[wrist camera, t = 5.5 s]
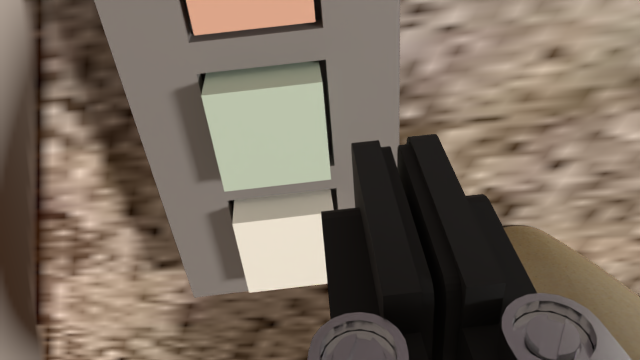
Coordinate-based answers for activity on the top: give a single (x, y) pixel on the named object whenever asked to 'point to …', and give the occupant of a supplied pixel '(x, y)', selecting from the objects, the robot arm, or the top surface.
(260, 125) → the sage button
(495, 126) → the top surface
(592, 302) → the plant pot
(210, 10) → the terracotta button
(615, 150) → the top surface
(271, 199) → the cream button
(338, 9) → the button panel
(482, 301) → the robot arm
